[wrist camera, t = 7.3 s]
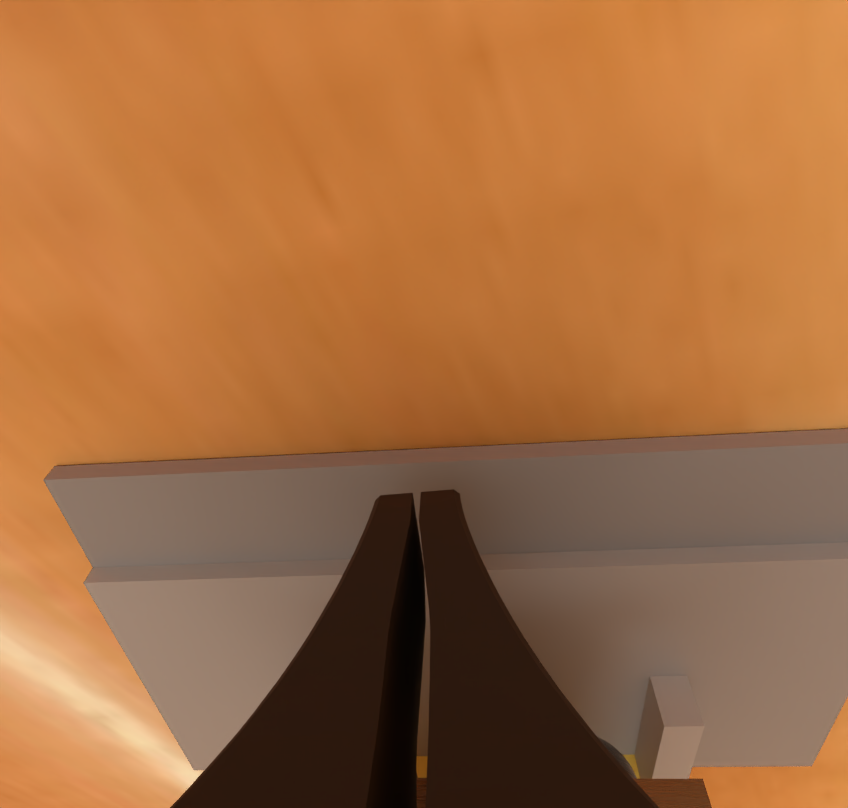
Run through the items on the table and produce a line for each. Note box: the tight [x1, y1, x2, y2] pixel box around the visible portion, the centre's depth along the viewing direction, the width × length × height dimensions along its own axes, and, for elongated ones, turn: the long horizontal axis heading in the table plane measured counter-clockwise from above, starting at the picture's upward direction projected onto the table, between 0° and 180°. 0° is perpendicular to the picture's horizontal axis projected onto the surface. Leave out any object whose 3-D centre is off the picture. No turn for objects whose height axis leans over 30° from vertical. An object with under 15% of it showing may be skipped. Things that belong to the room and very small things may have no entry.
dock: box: [44, 429, 848, 779], centre depth 16 cm, size 20×12×3 cm, turn 95°
